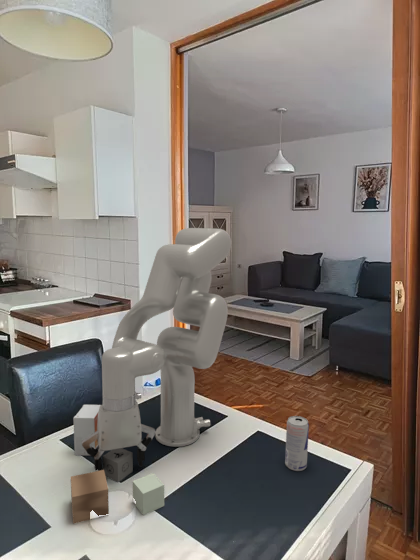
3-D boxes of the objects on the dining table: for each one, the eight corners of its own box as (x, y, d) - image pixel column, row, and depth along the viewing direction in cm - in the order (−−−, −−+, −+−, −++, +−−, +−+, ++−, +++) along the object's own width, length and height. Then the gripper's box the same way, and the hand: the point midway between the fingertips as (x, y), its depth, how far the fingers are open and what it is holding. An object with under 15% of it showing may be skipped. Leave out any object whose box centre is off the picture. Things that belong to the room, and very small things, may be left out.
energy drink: (308, 462, 102) (310, 418, 101) (304, 474, 98) (306, 427, 96) (287, 457, 105) (289, 413, 103) (282, 468, 100) (284, 423, 98)
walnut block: (104, 494, 90) (103, 469, 89) (108, 515, 83) (108, 489, 82) (71, 501, 87) (70, 476, 86) (73, 524, 80) (72, 497, 80)
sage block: (153, 493, 90) (153, 472, 89) (164, 506, 86) (164, 484, 85) (132, 502, 87) (132, 481, 86) (143, 515, 83) (143, 493, 82)
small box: (95, 456, 104) (94, 418, 102) (74, 455, 104) (72, 417, 103) (104, 440, 112) (103, 404, 110) (84, 439, 112) (83, 403, 110)
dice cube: (118, 482, 94) (117, 462, 93) (102, 475, 96) (102, 456, 95) (132, 471, 98) (132, 452, 97) (117, 465, 100) (117, 446, 100)
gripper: (151, 389, 101) (151, 452, 103) (79, 399, 95) (81, 466, 97) (158, 401, 94) (158, 469, 96) (81, 413, 88) (83, 484, 90)
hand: (120, 467), depth 97 cm, fingers open, 9 cm apart
